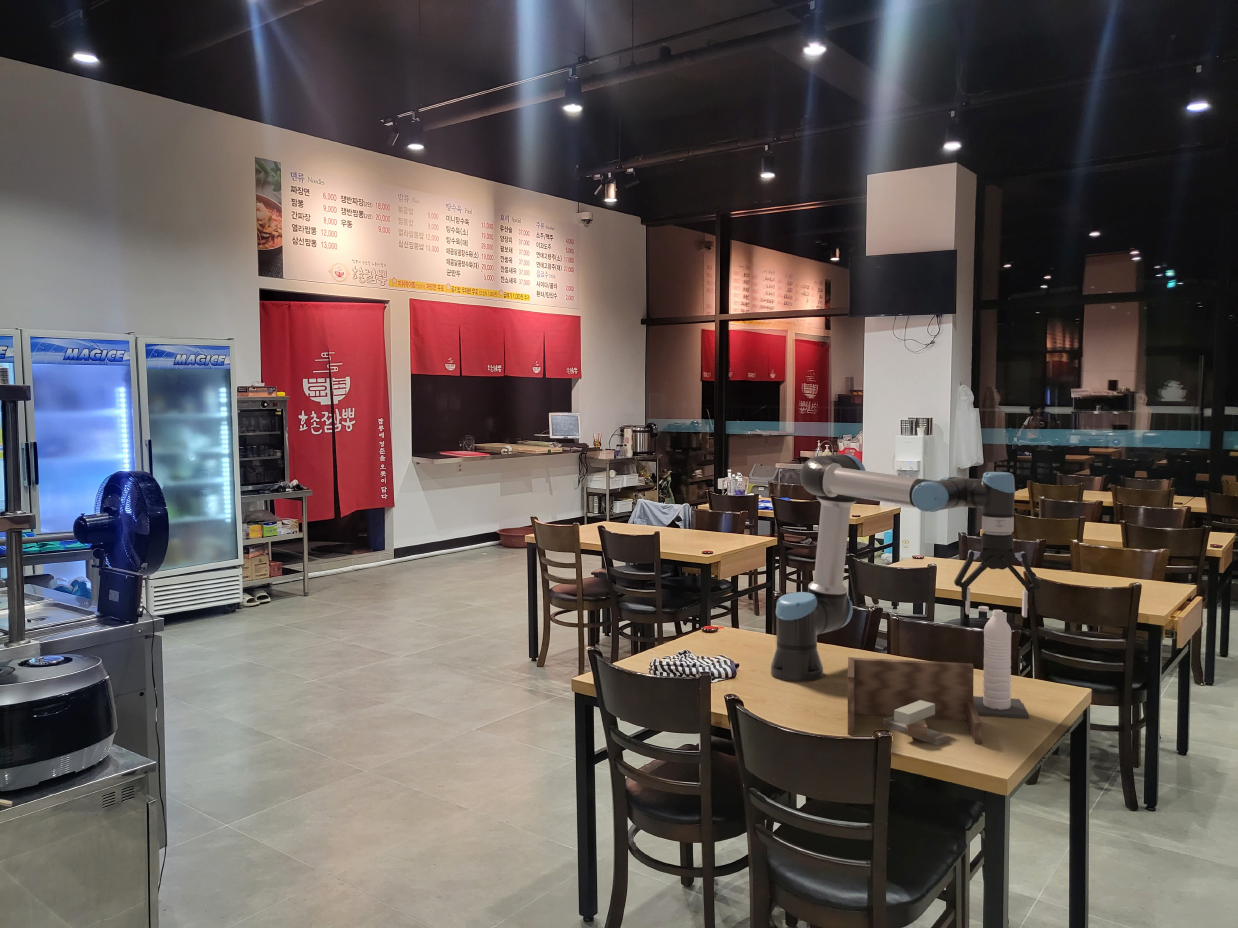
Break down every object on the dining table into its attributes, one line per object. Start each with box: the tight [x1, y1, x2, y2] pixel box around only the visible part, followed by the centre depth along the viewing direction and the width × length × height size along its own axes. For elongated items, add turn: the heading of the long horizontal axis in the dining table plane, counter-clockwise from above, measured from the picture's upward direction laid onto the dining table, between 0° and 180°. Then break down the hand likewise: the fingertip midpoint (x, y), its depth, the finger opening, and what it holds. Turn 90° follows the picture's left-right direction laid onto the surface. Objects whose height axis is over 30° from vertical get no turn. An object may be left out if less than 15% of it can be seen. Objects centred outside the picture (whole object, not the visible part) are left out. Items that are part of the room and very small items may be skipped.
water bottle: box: [978, 605, 1012, 710], centre depth 231 cm, size 9×6×25 cm
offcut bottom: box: [882, 716, 948, 746], centre depth 215 cm, size 16×4×2 cm, turn 31°
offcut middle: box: [906, 718, 928, 738], centre depth 215 cm, size 14×4×2 cm, turn 168°
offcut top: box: [894, 700, 935, 725], centre depth 214 cm, size 11×4×2 cm, turn 129°
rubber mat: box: [973, 695, 1030, 719], centre depth 231 cm, size 13×13×1 cm
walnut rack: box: [847, 656, 983, 745], centre depth 219 cm, size 30×18×14 cm, turn 75°
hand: (995, 614), depth 230 cm, fingers open, 13 cm apart
